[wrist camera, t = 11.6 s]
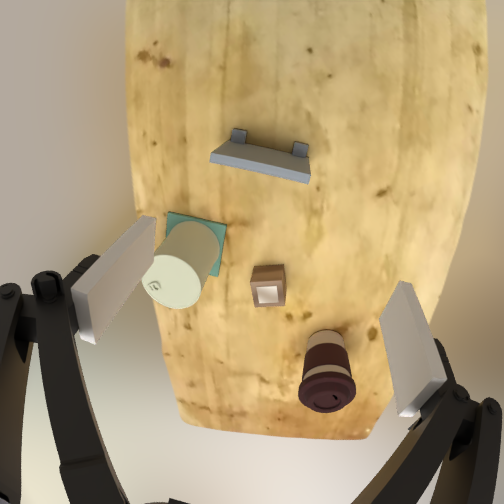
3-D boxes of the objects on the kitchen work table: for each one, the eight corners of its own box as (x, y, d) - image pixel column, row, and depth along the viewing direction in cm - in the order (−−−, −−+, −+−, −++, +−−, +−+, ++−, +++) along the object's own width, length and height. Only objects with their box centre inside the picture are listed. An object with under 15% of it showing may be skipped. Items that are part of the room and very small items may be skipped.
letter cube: (254, 266, 55) (249, 282, 51) (283, 264, 54) (281, 281, 50) (258, 290, 58) (254, 307, 53) (286, 288, 57) (284, 306, 52)
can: (159, 229, 54) (128, 264, 43) (207, 213, 51) (182, 249, 41) (181, 273, 57) (157, 315, 47) (228, 262, 55) (210, 305, 44)
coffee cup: (298, 357, 64) (294, 416, 51) (304, 321, 60) (302, 383, 46) (344, 360, 63) (348, 418, 50) (354, 325, 58) (363, 386, 45)
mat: (169, 211, 52) (167, 212, 52) (226, 224, 52) (226, 226, 52) (165, 261, 57) (164, 263, 57) (218, 275, 57) (217, 276, 57)
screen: (230, 127, 45) (213, 137, 36) (311, 145, 44) (314, 159, 36) (225, 159, 47) (207, 177, 38) (303, 177, 47) (304, 199, 38)
